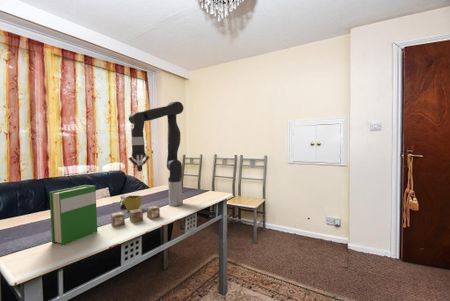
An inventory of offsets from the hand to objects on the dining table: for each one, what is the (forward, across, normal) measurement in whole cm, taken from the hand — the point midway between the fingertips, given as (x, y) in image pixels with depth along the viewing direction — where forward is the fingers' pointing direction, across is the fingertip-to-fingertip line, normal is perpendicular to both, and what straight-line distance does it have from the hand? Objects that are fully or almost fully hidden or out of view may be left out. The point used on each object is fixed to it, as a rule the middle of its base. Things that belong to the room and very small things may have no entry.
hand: (139, 171), depth 145 cm
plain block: (+28, +6, +11) cm, 30 cm away
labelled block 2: (+28, -4, +11) cm, 30 cm away
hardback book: (+27, +36, +16) cm, 48 cm away
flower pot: (+28, +2, -13) cm, 31 cm away
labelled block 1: (+27, +16, +11) cm, 34 cm away
